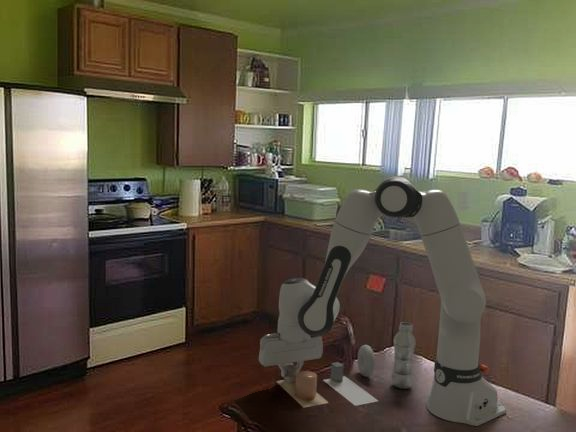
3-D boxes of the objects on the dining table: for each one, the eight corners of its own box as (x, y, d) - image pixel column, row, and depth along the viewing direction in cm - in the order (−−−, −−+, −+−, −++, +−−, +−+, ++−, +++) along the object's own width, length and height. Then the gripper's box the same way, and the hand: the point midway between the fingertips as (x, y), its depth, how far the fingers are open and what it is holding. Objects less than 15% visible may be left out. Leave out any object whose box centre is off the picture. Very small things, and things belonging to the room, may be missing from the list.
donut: (375, 382, 171) (377, 351, 170) (364, 382, 171) (366, 351, 169) (365, 369, 181) (367, 340, 180) (355, 369, 180) (357, 340, 179)
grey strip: (344, 379, 172) (345, 360, 171) (378, 404, 156) (379, 384, 155) (322, 383, 168) (323, 364, 168) (354, 409, 152) (356, 388, 152)
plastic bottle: (412, 392, 165) (417, 328, 163) (390, 389, 166) (394, 326, 164) (412, 383, 171) (417, 322, 169) (390, 381, 173) (394, 319, 170)
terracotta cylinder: (309, 389, 161) (310, 369, 161) (319, 398, 156) (320, 377, 155) (291, 392, 159) (292, 372, 158) (301, 401, 153) (302, 381, 152)
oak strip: (299, 380, 169) (300, 361, 169) (328, 406, 153) (330, 385, 153) (275, 384, 166) (276, 365, 165) (303, 411, 150) (304, 390, 149)
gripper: (264, 338, 157) (263, 384, 158) (326, 330, 166) (324, 374, 168) (256, 331, 162) (254, 376, 164) (316, 324, 171) (314, 366, 173)
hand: (290, 375), depth 166 cm, fingers closed on oak strip, 2 cm apart
